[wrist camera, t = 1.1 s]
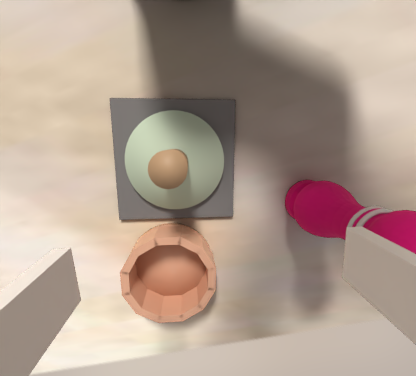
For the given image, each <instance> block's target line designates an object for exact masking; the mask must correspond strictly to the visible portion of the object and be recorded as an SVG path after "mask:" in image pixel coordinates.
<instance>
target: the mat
mask: <svg viewBox="0 0 416 376" xmlns="http://www.w3.org/2000/svg"><path fill="white" fill-rule="evenodd" d="M110 109H111V121H112V133H113V146H114V158H115V171H116V183H117V195H118V208H119V220H124V219H159V218H194V217H229V216H233V188H234V136H235V100H213V99H144V98H110ZM168 110H178V111H184V112H188V113H191V114H194V115H196V116H198V117H199V118H201V119H202V120H204V121H205V122H206V123H207V124H208V125H210V127H211V128H212V129H213V130H214V131H215V133H216V134H217V136H218V138H219V140H220V142H221V145H222V148H223V153H224V169H223V173H222V177H221V179H220V182H219V184H218V185H217V187H216V188H215V190H214V191H213V192H212V194H211V195H210V196H209V197H207V198H206V199H205V200H204V201H202V202H201V203H199V204H197V205H195V206H192V207H189V208H184V209H167V208H162V207H159V206H156V205H154V204H152V203H150V202H149V201H147V200H146V199H144V198H143V197H142V196H141V195H140V194H139V193H138V192H137V191H136V190H135V188H134V187H133V186H132V184H131V182H130V180H129V178H128V175H127V172H126V168H125V149H126V145H127V142H128V140H129V137H130V135H131V134H132V132H133V131H134V129H135V128H136V127H137V126H138V125H139V124H140V123H141V122H142V121H143V120H145V119H146V118H147V117H149V116H151V115H153V114H156V113H159V112H162V111H168Z"/></svg>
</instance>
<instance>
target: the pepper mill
mask: <svg viewBox="0 0 416 376" xmlns="http://www.w3.org/2000/svg"><path fill="white" fill-rule="evenodd" d="M285 206H286V210H287V212H288V213H289V215H290V216H292V217H293V218H294V219H296V221H297V223H298V224H299V226H300V227H301V228H302V229H304V230H305V231H307V232H309V233H311V234H313V235H316V236H320V237H327V238H342V239H344V240H345V239H346V229H347V227H361V226H362V227H364V228H366V229H367V230H369V231H371V232H373V233H375V234H377V235H379V236H381V237H383V238H385V239H387V240H389V241H391V242H393V243H395V244H397V245H399V246H401V247H403V248H405V249H407V250H409V251H411V252H413V253H415V254H416V212H415V211H409V210H402V211H393V210H390V209H386V208H383V207H380V206H370V207H363V206H361V205H360V204H359V203H358V202H357V201H356V200H355V198H354V197H353V196H352V195H351V193H349V192H348V191H347V190H346V189H345V188H343V187H342V186H340V185H338V184H335V183H333V182H330V181H312V180H303V181H300V182H298V183H296V184H294V185H293V186H292V187H291V188H290V189H289V191H288V193H287V195H286V198H285Z"/></svg>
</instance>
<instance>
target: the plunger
mask: <svg viewBox="0 0 416 376" xmlns="http://www.w3.org/2000/svg"><path fill="white" fill-rule="evenodd" d="M125 168H126V172H127V175H128V178H129V180H130V182H131V184H132V186H133V187H134V188H135V190H136V191H137V192H138V193H139V194H140V195H141V196H142V197H143V198H144V199H146V200H147V201H149V202H150V203H152V204H154V205H156V206H159V207H162V208H167V209H184V208H189V207H192V206H195V205H197V204H199V203H201V202H202V201H204V200H205V199H206V198H207V197H209V196H210V195H211V194H212V192H213V191H214V190H215V188H216V187H217V185H218V184H219V182H220V179H221V177H222V173H223V169H224V153H223V148H222V145H221V142H220V140H219V138H218V136H217V134H216V133H215V131H214V130H213V129H212V128H211V127H210V125H208V124H207V123H206V122H205V121H204V120H202V119H201V118H199V117H198V116H196V115H194V114H191V113H188V112H184V111H178V110H168V111H162V112H159V113H156V114H153V115H151V116H149V117H147V118H146V119H145V120H143V121H142V122H141V123H140V124H139V125H138V126H137V127H136V128H135V129H134V131H133V132H132V134H131V135H130V137H129V140H128V142H127V145H126V149H125Z"/></svg>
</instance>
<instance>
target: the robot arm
mask: <svg viewBox="0 0 416 376" xmlns="http://www.w3.org/2000/svg"><path fill="white" fill-rule="evenodd" d="M342 278H343V279H344V280H345V281H346V282H348V283H349V284H350V285H351V286H352V287H353V288H354V289H355V290H356V291H357V292H358V293H360V294H361V295H362V296H363V297H364V298H365V299H366V300H367V301H368V302H369V303H370V304H372V305H373V306H374V307H375V308H376V309H377V310H378V311H379V312H380V313H381V314H383V315H384V316H385V317H386V318H387V319H388V320H389V321H390V322H391V323H392V324H394V325H395V326H396V327H397V328H398V329H399V330H400V331H401V332H402V333H403V334H404V335H406V336H407V337H408V338H409V339H410V340H411V341H412V342H413V343H414V344H416V254H415V253H413V252H411V251H409V250H407V249H405V248H403V247H401V246H399V245H397V244H395V243H393V242H391V241H389V240H387V239H385V238H383V237H381V236H379V235H377V234H375V233H373V232H371V231H369V230H367V229H366V228H364V227H362V226H361V227H347V229H346V239H345V250H344V260H343V271H342ZM80 301H81V297H80V292H79V287H78V282H77V277H76V272H75V267H74V262H73V256H72V251H71V248H60V249H53V250H51V251H50V252H49V253H48V254H46V255H45V256H44V257H42V258H41V259H40V260H39V261H37V262H36V263H35V264H34V265H32V266H31V267H30V268H28V269H27V270H26V271H25V272H23V273H22V274H21V275H20V276H18V277H17V278H16V279H14V280H13V281H12V282H11V283H9V284H8V285H7V286H6V287H4V288H3V289H2V290H0V376H29V374H30V373H31V371H32V370H33V369H34V367H35V366H36V364H37V363H38V361H39V360H40V359H41V357H42V356H43V354H44V353H45V351H46V350H47V348H48V347H49V346H50V344H51V343H52V341H53V340H54V338H55V337H56V335H57V334H58V333H59V331H60V330H61V328H62V327H63V325H64V324H65V322H66V321H67V320H68V318H69V317H70V315H71V314H72V312H73V311H74V309H75V308H76V307H77V305H78V304H79V302H80Z"/></svg>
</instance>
